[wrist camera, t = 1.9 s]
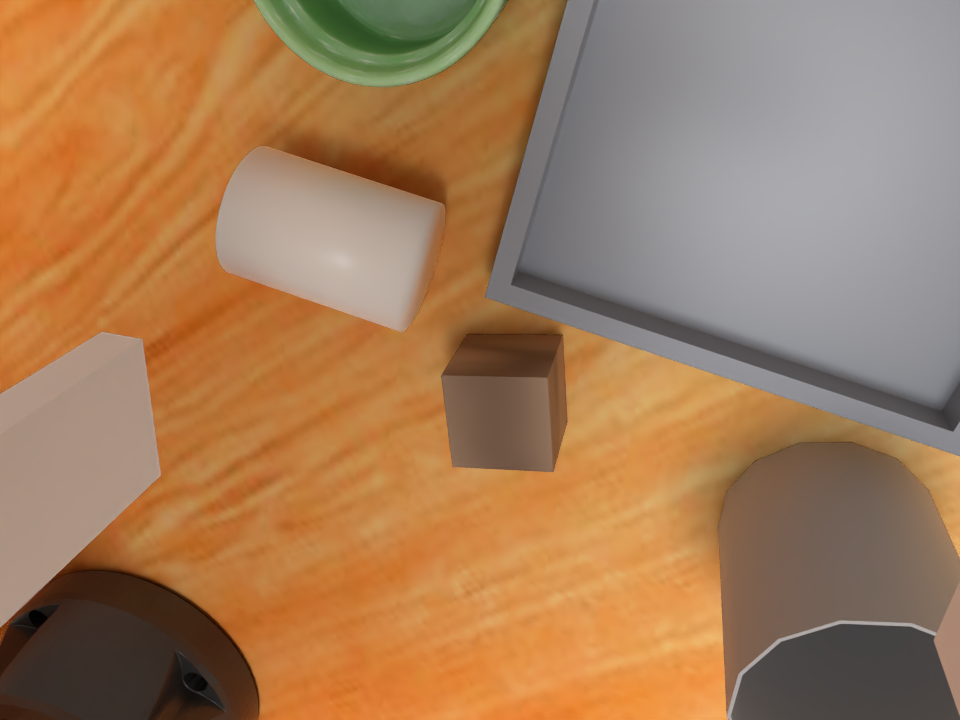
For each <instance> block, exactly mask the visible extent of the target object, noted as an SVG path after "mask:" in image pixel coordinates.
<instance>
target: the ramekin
mask: <svg viewBox="0 0 960 720" xmlns="http://www.w3.org/2000/svg"><path fill="white" fill-rule="evenodd" d="M254 2H255V4H256V5H257V7H258V9H259V10H260V12H261V14H262V16H263V17H264V19H265V20H266V22H267V23H268V24H269V26H270V27H271V28H272V30H273V31H274V32H275V33H276V35H277V36H278V37H279V38H280V39H281V40H282V41H283V42H284V43H285V44H286V45H287V46H288V47H289V48H290V49H291V50H292V51H293V52H294V53H295V54H297V55H298V56H299V57H300V58H302V59H303V60H304V61H305V62H307V63H308V64H310V65H311V66H313V67H314V68H316V69H318V70H320V71H321V72H323V73H325V74H327V75H329V76H332V77H334V78H336V79H339V80H342V81H345V82H348V83H352V84H357V85H361V86H370V87H395V86H402V85H408V84H411V83H415V82H418V81H421V80H424V79H427V78H430V77H432V76H434V75H436V74H438V73H440V72H442V71H444V70H445V69H447V68H448V67H450V66H452V65H453V64H454V63H456V62H457V61H459V60H460V59H461V58H462V57H463V56H464V55H466V54H467V53H468V52H469V51H470V50H471V49H472V48H473V47H474V46H475V45H476V44H477V43H478V41H479V40H480V39H481V38H482V37H483V36H484V34H485V33H486V32H487V30H488V29H489V27H490V26H491V24H492V23H493V22H494V21H495V20H496V19H497V17H498V16H499V14H500V13H501V11H502V10H503V9H504V7H505V5H506V4H507V2H508V0H254Z"/></svg>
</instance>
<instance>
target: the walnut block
mask: <svg viewBox="0 0 960 720" xmlns="http://www.w3.org/2000/svg"><path fill="white" fill-rule="evenodd" d="M441 377H442V386H443V394H444V402H445V410H446V418H447V426H448V435H449V443H450V451H451V459H452V467H466V468H485V469H504V470H524V471H543V472H553V471H554V468H555V464H556V461H557V457H558V454H559V450H560V446H561V443H562V439H563V436H564V432H565V429H566V425H567V403H566V384H565V365H564V346H563V335H524V334H467V335H466V337H465V338H464V340H463V341H462V343H461V345H460V346H459V348H458V349H457V351H456V353H455V354H454V356H453V357H452V359H451V361H450V362H449V364H448V365H447V367H446V369H445V370H444V372H443V373H442V375H441Z"/></svg>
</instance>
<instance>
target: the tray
mask: <svg viewBox="0 0 960 720" xmlns="http://www.w3.org/2000/svg"><path fill="white" fill-rule="evenodd" d="M485 297H486V298H489V299H492V300H495V301H498V302H501V303H504V304H507V305H510V306H513V307H516V308H518V309H521V310H524V311H527V312H530V313H533V314H536V315H539V316H542V317H545V318H548V319H551V320H554V321H557V322H560V323H563V324H566V325H569V326H572V327H575V328H578V329H581V330H584V331H587V332H590V333H593V334H596V335H599V336H602V337H605V338H608V339H611V340H614V341H617V342H620V343H623V344H626V345H629V346H632V347H635V348H638V349H641V350H644V351H647V352H650V353H653V354H656V355H659V356H662V357H665V358H668V359H671V360H674V361H677V362H680V363H683V364H686V365H689V366H692V367H695V368H698V369H701V370H704V371H707V372H710V373H713V374H716V375H719V376H722V377H725V378H728V379H731V380H734V381H737V382H740V383H743V384H745V385H748V386H751V387H754V388H757V389H760V390H763V391H766V392H769V393H772V394H775V395H778V396H781V397H784V398H787V399H790V400H793V401H796V402H799V403H802V404H805V405H808V406H811V407H814V408H817V409H820V410H823V411H826V412H829V413H832V414H835V415H838V416H841V417H844V418H847V419H850V420H853V421H856V422H859V423H862V424H865V425H868V426H871V427H874V428H877V429H880V430H883V431H886V432H889V433H892V434H895V435H898V436H901V437H904V438H907V439H910V440H913V441H916V442H919V443H922V444H925V445H928V446H931V447H934V448H937V449H940V450H943V451H946V452H949V453H952V454H955V455H958V456H960V0H568V1H567V4H566V8H565V11H564V15H563V19H562V22H561V26H560V29H559V33H558V37H557V40H556V44H555V47H554V51H553V54H552V58H551V62H550V65H549V69H548V72H547V76H546V80H545V83H544V87H543V90H542V94H541V97H540V101H539V105H538V108H537V112H536V115H535V119H534V123H533V126H532V130H531V133H530V137H529V140H528V144H527V148H526V151H525V155H524V158H523V162H522V166H521V169H520V173H519V176H518V180H517V183H516V187H515V191H514V194H513V198H512V201H511V205H510V209H509V212H508V216H507V219H506V223H505V226H504V230H503V234H502V237H501V241H500V244H499V248H498V252H497V255H496V259H495V262H494V266H493V269H492V273H491V277H490V280H489V284H488V287H487V291H486V295H485Z"/></svg>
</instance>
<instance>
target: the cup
mask: <svg viewBox="0 0 960 720" xmlns="http://www.w3.org/2000/svg"><path fill="white" fill-rule="evenodd" d="M718 533H719V556H720V578H721V600H722V622H723V644H724V666H725V688H726V711H727V718H728V720H960V716H959V713H958V710H957V707H956V704H955V701H954V698H953V695H952V692H951V690H950V687H949V684H948V681H947V678H946V675H945V672H944V669H943V666H942V664H941V661H940V658H939V655H938V652H937V649H936V646H935V643H934V638H935V636H936V634H937V631H938V629H939V627H940V625H941V622H942V620H943V618H944V616H945V613H946V611H947V609H948V606H949V604H950V602H951V600H952V597H953V595H954V593H955V591H956V588H957V586H958V584H959V581H960V558H959V556H958V554H957V552H956V549H955V547H954V545H953V543H952V540H951V538H950V536H949V534H948V532H947V529H946V527H945V525H944V523H943V521H942V518H941V516H940V514H939V512H938V510H937V507H936V505H935V503H934V501H933V498H932V496H931V494H930V492H929V490H928V489H927V488H926V487H925V486H924V485H923V484H922V483H921V482H920V481H919V480H918V479H917V478H916V477H915V476H914V475H913V474H912V473H911V472H910V471H909V470H908V469H907V468H906V467H905V466H904V465H903V464H902V463H901V462H900V461H899V460H898V459H896V458H893V457H891V456H888V455H885V454H883V453H880V452H877V451H874V450H872V449H869V448H866V447H864V446H861V445H858V444H856V443H853V442H817V443H798V444H796V445H793V446H791V447H788V448H786V449H783V450H781V451H778V452H776V453H774V454H771V455H769V456H766V457H764V458H761V459H759V460H756V461H755V462H754V463H753V464H752V465H751V466H750V467H749V468H748V469H747V470H746V471H745V472H744V474H743V475H742V476H741V477H740V478H739V479H738V480H737V481H736V482H735V483H734V484H733V485H732V486H731V487H730V488H729V489H728V490H727V492H726V497H725V501H724V505H723V509H722V513H721V517H720V522H719V526H718Z"/></svg>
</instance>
